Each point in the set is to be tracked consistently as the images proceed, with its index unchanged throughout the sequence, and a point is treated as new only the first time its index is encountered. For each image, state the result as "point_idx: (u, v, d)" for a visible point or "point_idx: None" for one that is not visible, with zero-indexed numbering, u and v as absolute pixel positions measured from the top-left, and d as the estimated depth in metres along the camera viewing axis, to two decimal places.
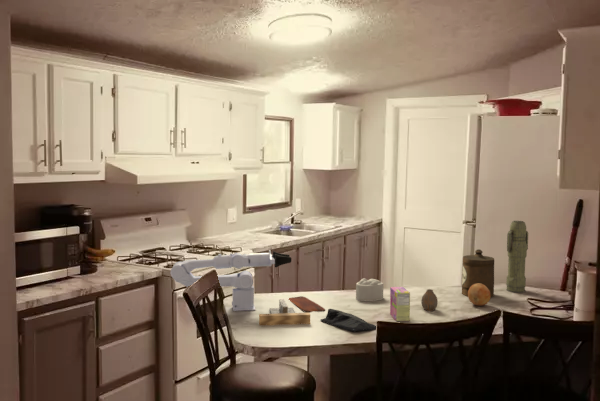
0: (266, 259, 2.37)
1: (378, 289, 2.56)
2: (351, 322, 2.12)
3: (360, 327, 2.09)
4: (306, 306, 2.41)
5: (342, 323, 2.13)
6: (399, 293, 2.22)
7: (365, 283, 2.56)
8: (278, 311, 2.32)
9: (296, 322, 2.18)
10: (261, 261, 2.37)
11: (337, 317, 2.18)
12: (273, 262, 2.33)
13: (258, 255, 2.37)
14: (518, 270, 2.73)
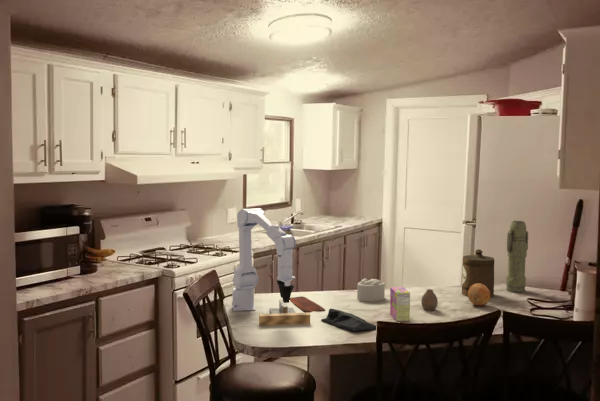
0: (287, 274, 2.15)
1: (379, 289, 2.56)
2: (352, 322, 2.12)
3: (361, 326, 2.09)
4: (306, 306, 2.41)
5: (343, 323, 2.14)
6: (399, 293, 2.22)
7: (366, 283, 2.56)
8: (278, 311, 2.32)
9: (296, 322, 2.18)
10: (285, 269, 2.14)
11: (338, 317, 2.18)
12: (286, 284, 2.10)
13: (285, 266, 2.14)
14: (518, 270, 2.73)
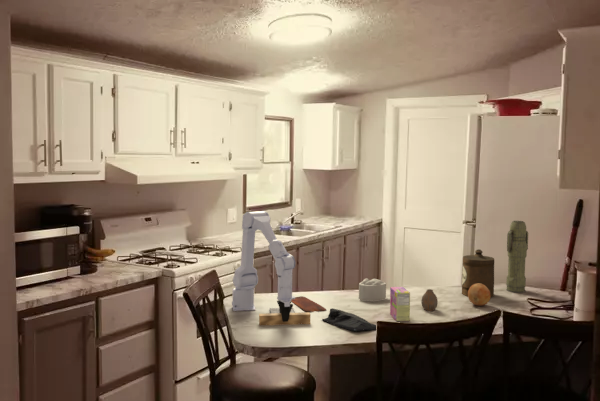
0: (286, 294, 2.15)
1: (381, 289, 2.56)
2: (352, 322, 2.12)
3: (361, 326, 2.09)
4: (307, 306, 2.41)
5: (343, 323, 2.14)
6: (399, 293, 2.22)
7: (368, 283, 2.56)
8: (278, 311, 2.32)
9: (296, 322, 2.18)
10: (284, 290, 2.15)
11: (339, 317, 2.18)
12: (286, 305, 2.11)
13: (284, 287, 2.15)
14: (518, 270, 2.73)
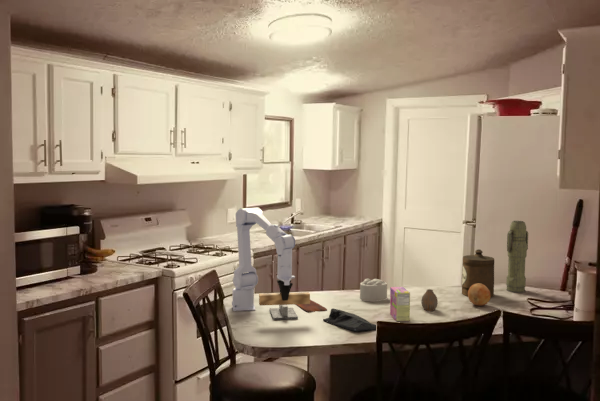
0: (286, 273, 2.17)
1: (382, 289, 2.56)
2: (353, 322, 2.12)
3: (362, 327, 2.09)
4: (308, 306, 2.41)
5: (344, 323, 2.14)
6: (399, 293, 2.22)
7: (370, 283, 2.56)
8: (278, 311, 2.32)
9: (296, 301, 2.19)
10: (284, 269, 2.16)
11: (339, 317, 2.18)
12: (286, 283, 2.12)
13: (284, 266, 2.16)
14: (518, 270, 2.73)
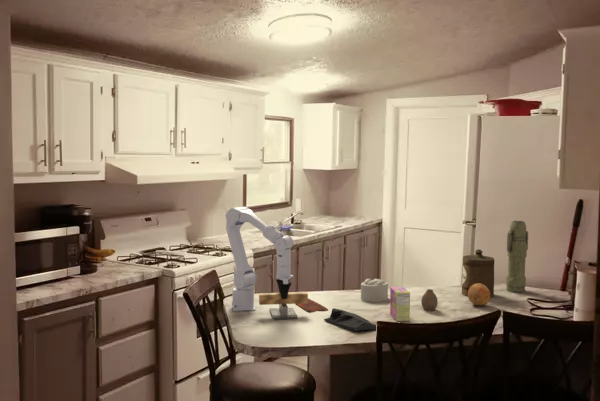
0: (285, 273, 2.27)
1: (383, 289, 2.56)
2: (354, 322, 2.12)
3: (362, 327, 2.09)
4: (309, 306, 2.41)
5: (345, 323, 2.14)
6: (399, 293, 2.22)
7: (370, 283, 2.55)
8: (278, 311, 2.32)
9: (294, 301, 2.30)
10: (283, 268, 2.26)
11: (340, 317, 2.18)
12: (285, 282, 2.22)
13: (286, 265, 2.27)
14: (518, 270, 2.73)
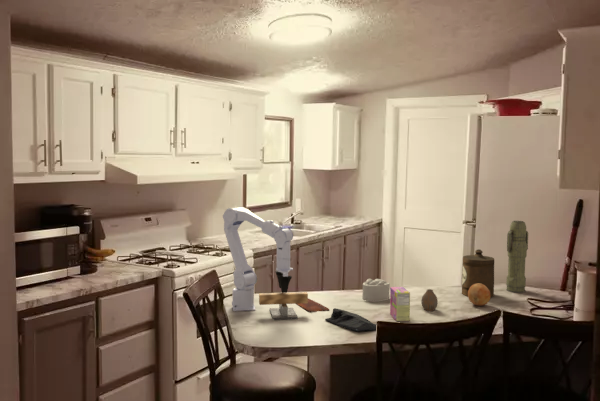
0: (285, 266, 2.27)
1: (385, 289, 2.56)
2: (355, 322, 2.12)
3: (363, 327, 2.09)
4: (310, 306, 2.41)
5: (346, 323, 2.14)
6: (399, 293, 2.22)
7: (372, 283, 2.55)
8: (278, 311, 2.32)
9: (294, 301, 2.30)
10: (283, 261, 2.26)
11: (341, 317, 2.18)
12: (284, 275, 2.22)
13: (285, 258, 2.27)
14: (518, 270, 2.73)
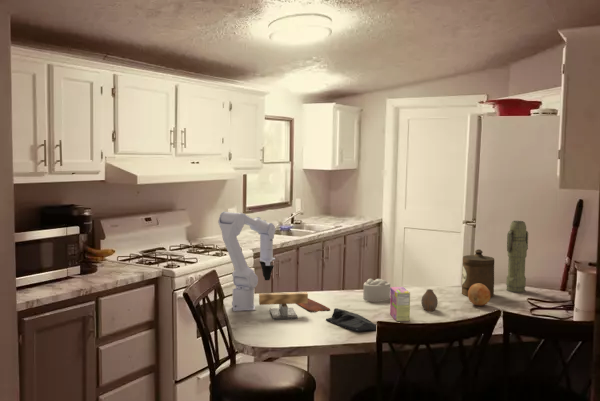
0: (267, 256, 2.49)
1: (386, 289, 2.56)
2: (355, 322, 2.12)
3: (364, 327, 2.09)
4: (311, 306, 2.41)
5: (346, 323, 2.14)
6: (399, 293, 2.22)
7: (373, 283, 2.55)
8: (278, 311, 2.32)
9: (294, 301, 2.30)
10: (266, 251, 2.49)
11: (342, 317, 2.18)
12: (267, 264, 2.45)
13: None
14: (518, 270, 2.73)
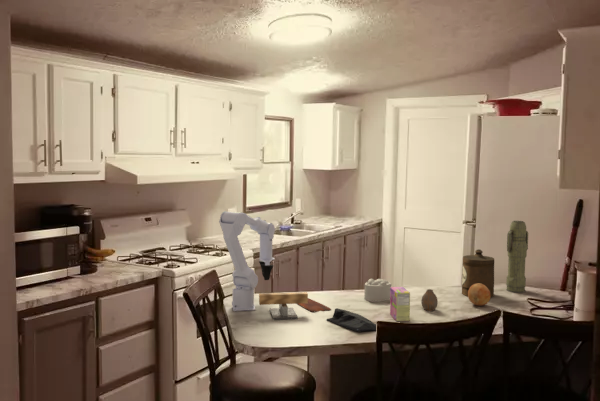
0: (267, 255, 2.49)
1: (387, 289, 2.56)
2: (356, 322, 2.12)
3: (364, 327, 2.09)
4: (311, 306, 2.41)
5: (347, 323, 2.14)
6: (399, 293, 2.22)
7: (374, 283, 2.55)
8: (278, 311, 2.32)
9: (294, 301, 2.30)
10: (265, 251, 2.49)
11: (343, 317, 2.18)
12: (266, 264, 2.45)
13: None
14: (518, 270, 2.73)
